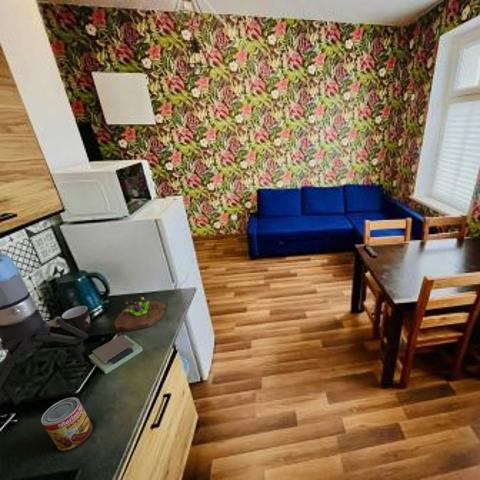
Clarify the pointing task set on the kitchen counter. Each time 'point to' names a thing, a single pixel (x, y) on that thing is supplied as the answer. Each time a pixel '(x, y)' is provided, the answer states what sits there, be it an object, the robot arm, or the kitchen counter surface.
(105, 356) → the scale pan
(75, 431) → the canned food
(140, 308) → the plant
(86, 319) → the coffee mug
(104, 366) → the scale
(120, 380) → the kitchen counter surface
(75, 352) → the robot arm
